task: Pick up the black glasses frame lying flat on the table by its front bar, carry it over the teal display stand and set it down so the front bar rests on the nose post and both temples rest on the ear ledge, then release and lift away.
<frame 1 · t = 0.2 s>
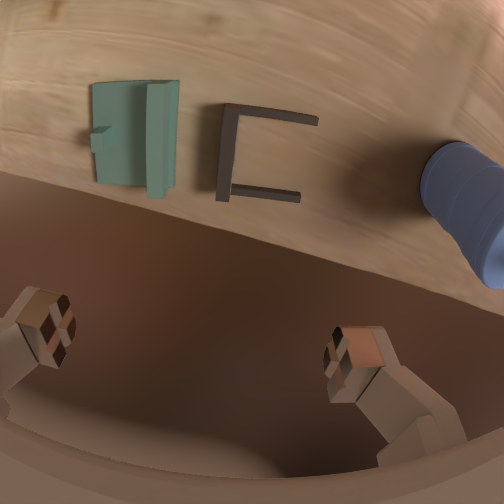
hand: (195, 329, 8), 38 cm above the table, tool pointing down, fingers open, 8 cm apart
water jug: (451, 179, 45), on the table
glasses frame: (228, 148, 43), on the table
display stand: (110, 133, 41), on the table
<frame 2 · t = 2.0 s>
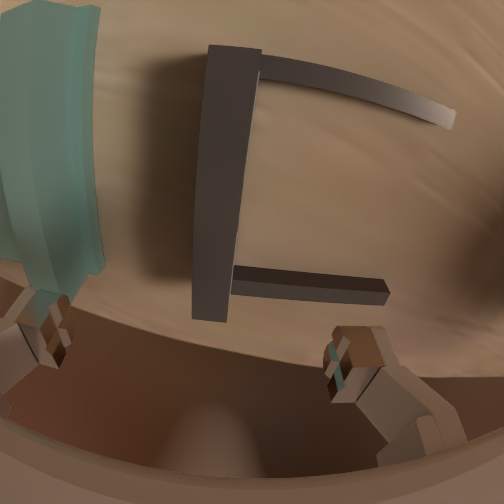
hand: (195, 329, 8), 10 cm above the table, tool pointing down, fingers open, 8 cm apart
glasses frame: (223, 178, 16), on the table
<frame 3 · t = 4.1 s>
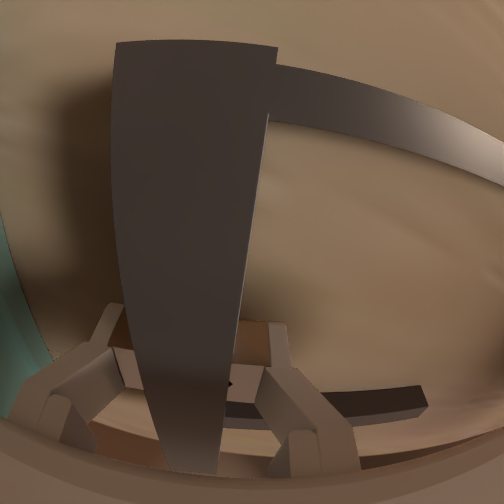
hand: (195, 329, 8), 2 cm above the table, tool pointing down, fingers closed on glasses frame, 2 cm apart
glasses frame: (202, 292, 10), on the table, touching gripper
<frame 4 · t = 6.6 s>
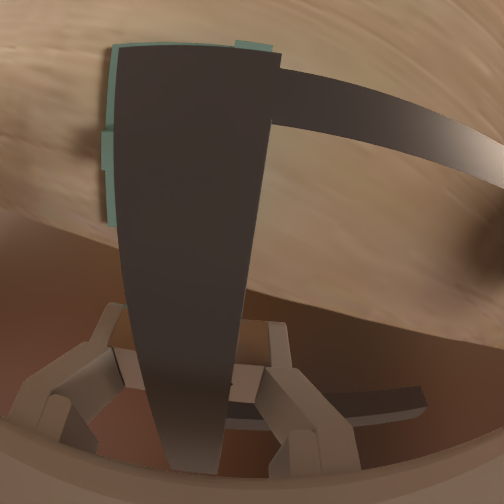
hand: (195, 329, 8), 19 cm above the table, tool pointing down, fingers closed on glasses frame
glasses frame: (203, 294, 10), point 18 cm above the table, touching gripper
display stand: (135, 137, 24), on the table
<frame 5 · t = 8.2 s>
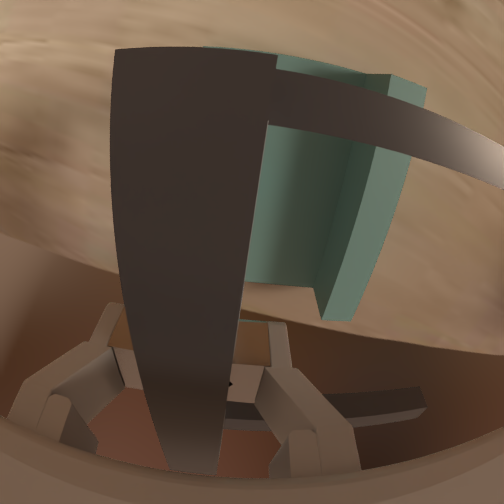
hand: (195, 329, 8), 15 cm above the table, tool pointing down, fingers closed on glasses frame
glasses frame: (201, 295, 10), point 13 cm above the table, touching gripper
display stand: (229, 170, 21), on the table
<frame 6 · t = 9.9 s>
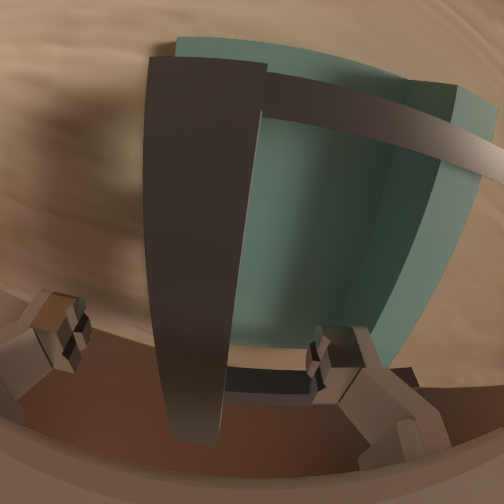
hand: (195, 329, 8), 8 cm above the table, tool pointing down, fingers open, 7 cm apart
glasses frame: (206, 269, 11), point 5 cm above the table, touching display stand
display stand: (218, 211, 15), on the table
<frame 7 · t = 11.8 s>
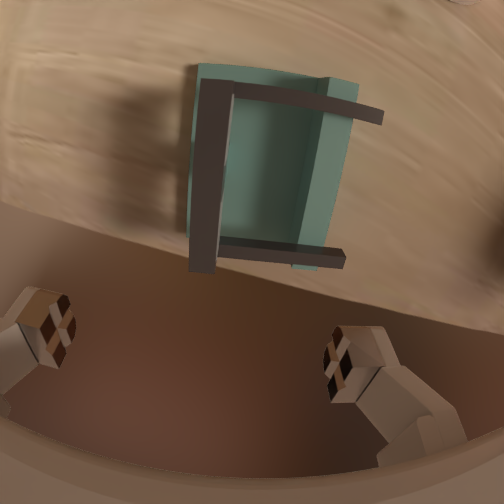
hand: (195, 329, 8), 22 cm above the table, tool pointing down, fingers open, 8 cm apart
glasses frame: (213, 169, 23), point 5 cm above the table, touching display stand
display stand: (218, 154, 27), on the table
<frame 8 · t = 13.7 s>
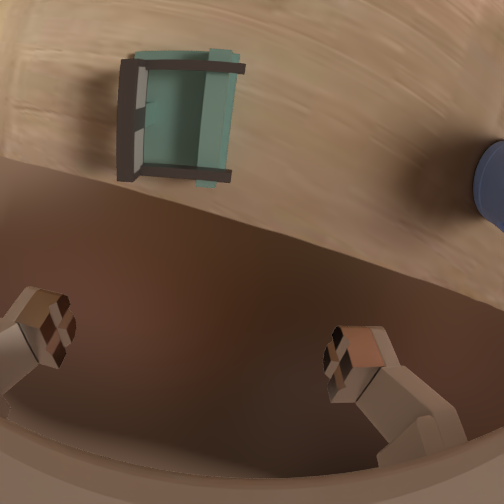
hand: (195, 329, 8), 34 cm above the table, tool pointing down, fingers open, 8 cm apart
water jug: (498, 179, 40), on the table
glasses frame: (137, 116, 31), point 5 cm above the table, touching display stand
display stand: (150, 111, 35), on the table
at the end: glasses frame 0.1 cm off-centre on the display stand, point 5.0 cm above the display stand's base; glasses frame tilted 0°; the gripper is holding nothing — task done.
